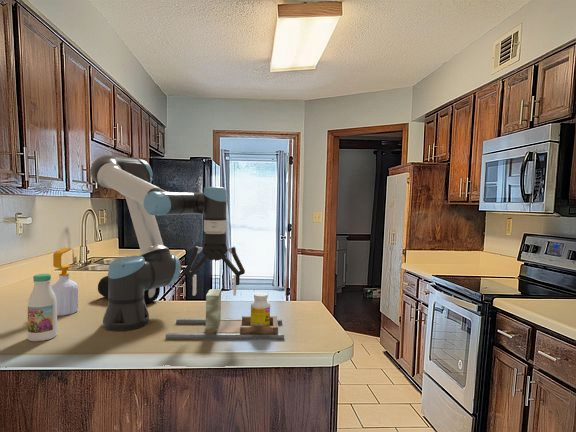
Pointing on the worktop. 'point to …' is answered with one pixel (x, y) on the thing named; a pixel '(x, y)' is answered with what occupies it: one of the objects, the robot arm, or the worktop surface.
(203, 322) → the lane rails
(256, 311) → the supplement bottle
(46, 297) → the milk bottle
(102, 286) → the portable speaker
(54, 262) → the soap bottle
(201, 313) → the worktop surface
